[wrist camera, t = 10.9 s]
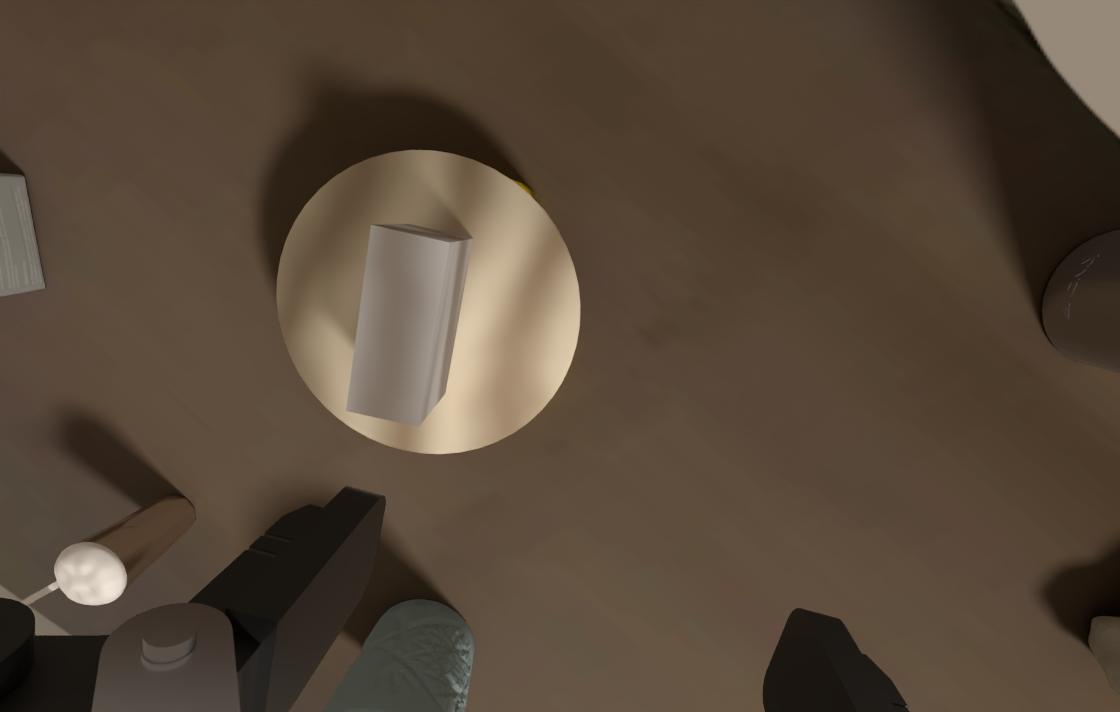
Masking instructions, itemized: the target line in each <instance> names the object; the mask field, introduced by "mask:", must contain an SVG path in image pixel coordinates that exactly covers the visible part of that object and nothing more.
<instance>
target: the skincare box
mask: <svg viewBox="0 0 1120 712" xmlns="http://www.w3.org/2000/svg"><path fill="white" fill-rule="evenodd" d="M40 289H45V283H44V278H43V273H42V267H41V262H40V257H39V251H38V246H37V241H36V235H35V230H34V225H33V219H32V214H31V209H30V204H29V198H28V193H27V188H26V182H25V177H24V176H22V175H17V174H4V173H0V297H1V296H7V295H13V294H18V293H24V292H29V291H34V290H40Z"/></svg>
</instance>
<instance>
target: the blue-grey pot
mask: <svg viewBox="0 0 1120 712" xmlns="http://www.w3.org/2000/svg"><path fill="white" fill-rule="evenodd" d="M473 656H474V642H473V636H472V634H471V631H470V628H469V626H468V625H467V623H466V622H465V620H464V619H463V618H462V617H461V616H460V615H459V614H458V613H457V612H455V611H454V610H453V609H451V608H450V607H448V606H446V605H444V604H442V603H439V602H436V601H432V600H426V599H414V600H408V601H405V602H401V603H399V604H397V605H395V606H393V607H391V608H390V609H389V610H388V611H387V612H386V613H384V614H383V616H382V617H381V618H380V619H379V620H378V622H377V624H376V625H375V627H374V628H373V630H372V631H371V633H370V635H369V636H368V638H367V639H366V641H365V642H364V645H363V650H362V652H361V653H360V654H359V656H358V657H357V658H356V660H355V662H354V663H353V664H352V666H351V667H350V669H349V671H348V672H347V673H346V675H345V676H344V678H343V680H342V681H341V683H340V684H339V685H338V686H337V688H336V690H335V692H334V694H333V696H332V697H331V699H330V701H329V702H328V704H327V705H326V707H325V708H324V710H323V711H322V712H465V707H466V702H467V698H466V694H467V693H468V687H469V682H470V674H471V669H472V662H473Z"/></svg>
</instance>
